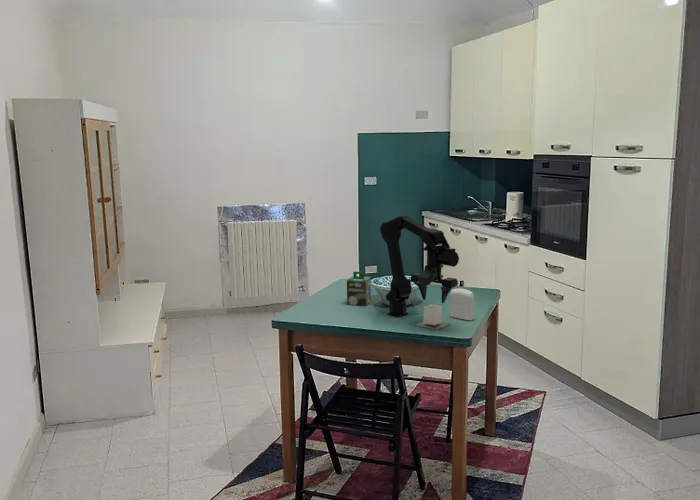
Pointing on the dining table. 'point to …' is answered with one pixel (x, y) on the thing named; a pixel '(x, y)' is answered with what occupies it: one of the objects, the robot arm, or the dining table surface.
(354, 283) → the chalk box
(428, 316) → the cream rectangular block
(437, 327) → the post
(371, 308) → the dining table surface
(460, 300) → the photo printer
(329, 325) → the dining table surface
